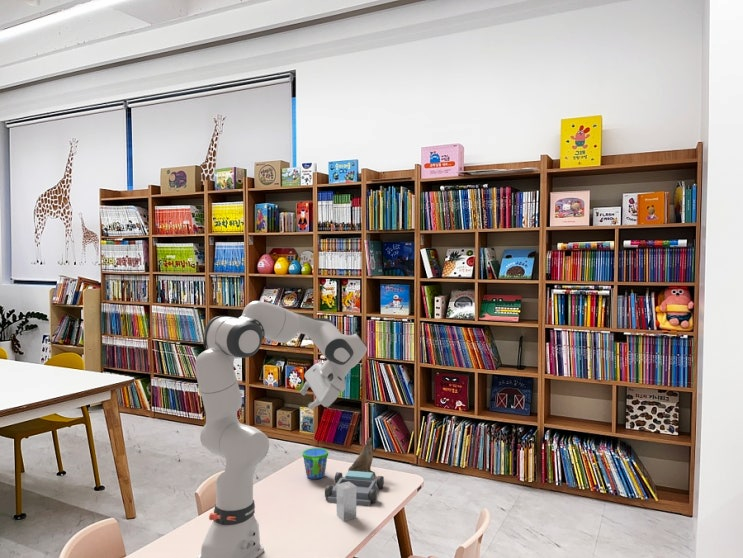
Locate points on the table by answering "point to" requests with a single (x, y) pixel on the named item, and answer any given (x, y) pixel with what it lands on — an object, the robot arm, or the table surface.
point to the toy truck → (357, 486)
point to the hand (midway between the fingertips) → (305, 400)
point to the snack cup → (315, 462)
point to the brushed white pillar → (346, 501)
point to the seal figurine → (364, 459)
